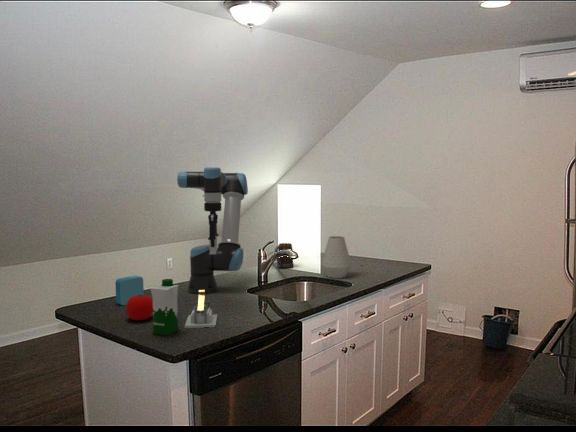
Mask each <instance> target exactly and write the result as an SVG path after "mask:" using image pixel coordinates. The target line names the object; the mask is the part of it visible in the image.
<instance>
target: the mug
mask: <svg viewBox="0 0 576 432" xmlns="http://www.w3.org/2000/svg"><path fill="white" fill-rule="evenodd" d="M283 249H291V250H292V251H293V244H292V243H288V242H285V243H284V242H282V243H279V244H278V245H276V246H275V248H274V254H275V252H277V253H278V251H280V250H283ZM276 262H277V263H276V268H277V269H282V270H287V269H288V270H289V269H292V268H293V269H294V258H293V259H290V258H289V257H287V256H283V257H280V258H278V259H277V260H276Z"/></svg>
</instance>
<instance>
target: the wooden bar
mask: <svg viewBox="0 0 576 432" xmlns="http://www.w3.org/2000/svg"><path fill="white" fill-rule="evenodd" d="M205 296H206V294H205V290H199V294H198V298H197V299H198V300H197V309H198V310H197V313H204V306H205V298H206V297H205Z"/></svg>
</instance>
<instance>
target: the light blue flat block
mask: <svg viewBox="0 0 576 432" xmlns="http://www.w3.org/2000/svg"><path fill="white" fill-rule="evenodd" d="M144 291H145V290H144V278H143V277H142V276H139V275H131V276H126V277H121V278H117V279H115V301H116V302H115V303H117V304H118V305H121V306H126V305H127V301H128V300H129V299H130V298H131V297H133V296H136V295H139V294H140V295H145V294H144V293H145V292H144Z"/></svg>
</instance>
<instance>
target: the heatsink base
mask: <svg viewBox="0 0 576 432" xmlns="http://www.w3.org/2000/svg"><path fill="white" fill-rule="evenodd" d="M197 310H198V305H194V307H193V310H192V311H191V314H189V315H187V318H186V321H185V324H184V329H201V328H202V329H204V327H209V328H216V327H215V326H216V325H217V320H218V314H215V313H214V314H213V309H211V300H206V301H205V304H204V313H197Z"/></svg>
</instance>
